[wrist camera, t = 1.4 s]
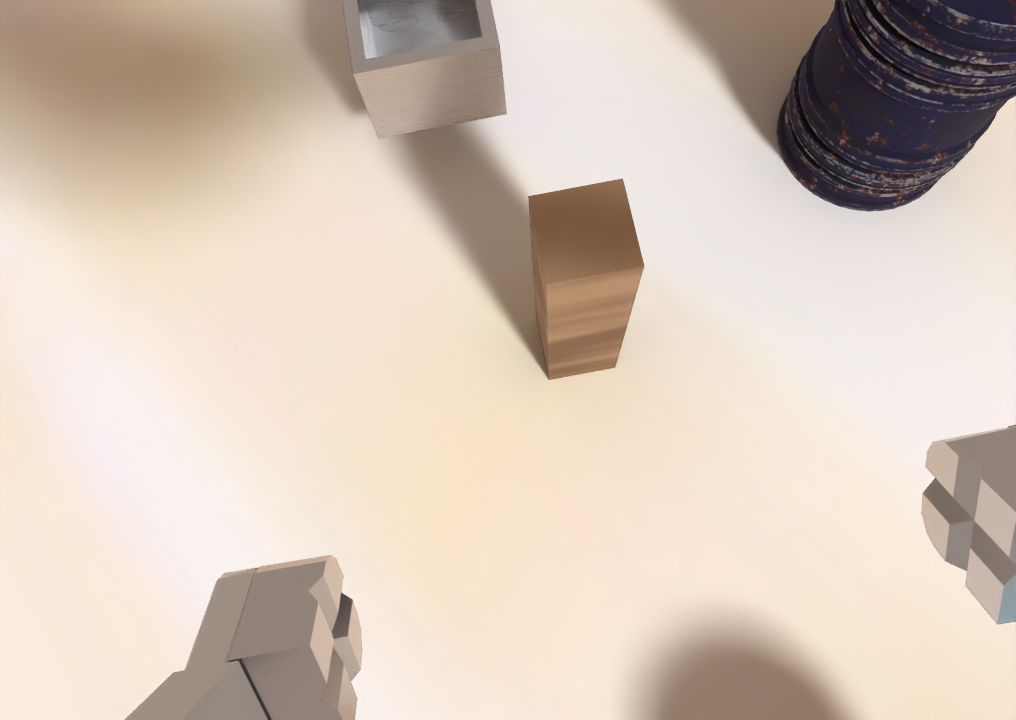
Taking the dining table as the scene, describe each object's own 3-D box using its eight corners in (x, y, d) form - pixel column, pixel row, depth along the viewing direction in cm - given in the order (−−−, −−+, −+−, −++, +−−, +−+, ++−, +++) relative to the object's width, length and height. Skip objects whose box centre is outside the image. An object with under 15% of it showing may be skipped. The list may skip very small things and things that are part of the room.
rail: (615, 367, 42) (644, 266, 28) (549, 379, 42) (546, 284, 28) (601, 305, 43) (622, 178, 29) (536, 317, 43) (528, 196, 29)
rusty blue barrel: (803, 40, 46) (914, -202, 32) (970, 88, 45) (1166, -142, 30) (752, 181, 44) (848, -12, 30) (927, 237, 43) (1117, 63, 28)
